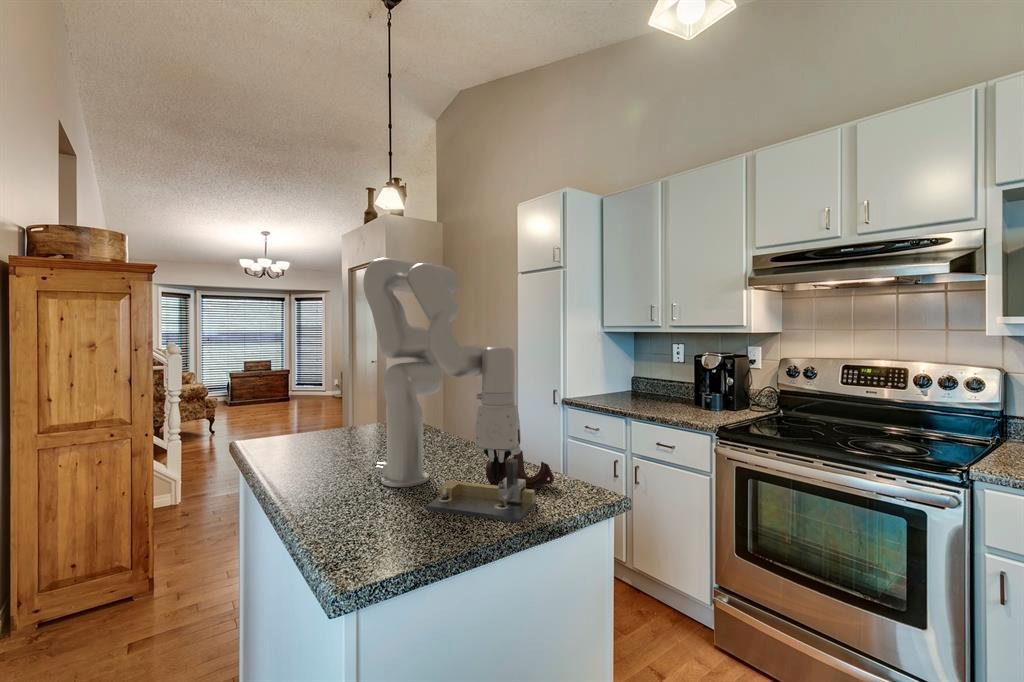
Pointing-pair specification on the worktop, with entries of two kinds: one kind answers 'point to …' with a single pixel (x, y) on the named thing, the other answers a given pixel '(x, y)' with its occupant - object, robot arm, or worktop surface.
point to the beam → (479, 491)
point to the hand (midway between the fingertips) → (498, 477)
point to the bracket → (530, 481)
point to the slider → (511, 484)
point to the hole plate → (482, 508)
